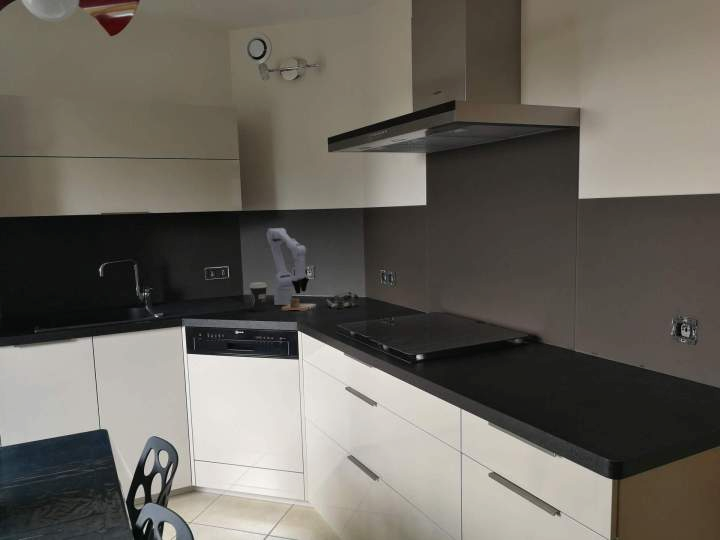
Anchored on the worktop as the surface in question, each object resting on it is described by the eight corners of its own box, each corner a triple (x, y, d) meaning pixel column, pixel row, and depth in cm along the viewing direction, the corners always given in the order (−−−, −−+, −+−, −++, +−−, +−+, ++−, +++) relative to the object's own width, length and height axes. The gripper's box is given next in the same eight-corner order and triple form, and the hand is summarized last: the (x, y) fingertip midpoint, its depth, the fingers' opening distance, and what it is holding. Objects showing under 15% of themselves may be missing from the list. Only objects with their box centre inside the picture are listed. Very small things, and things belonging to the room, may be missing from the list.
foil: (331, 299, 321) (352, 285, 315) (341, 315, 319) (362, 301, 314) (322, 301, 310) (343, 287, 305) (332, 318, 309) (353, 304, 303)
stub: (281, 310, 307) (281, 299, 306) (285, 308, 311) (285, 297, 311) (305, 311, 302) (305, 299, 302) (309, 309, 307) (309, 298, 306)
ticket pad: (286, 308, 312) (285, 305, 311) (293, 305, 320) (292, 303, 320) (309, 309, 307) (309, 306, 307) (316, 306, 316) (316, 303, 316)
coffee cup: (255, 313, 301) (254, 284, 299) (247, 310, 308) (245, 283, 307) (271, 310, 307) (270, 282, 305) (262, 308, 314) (261, 281, 313)
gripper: (301, 269, 303) (302, 294, 305) (311, 266, 317) (312, 290, 319) (289, 269, 306) (290, 294, 307) (300, 266, 319) (301, 290, 321)
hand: (300, 292), depth 313 cm, fingers open, 7 cm apart
